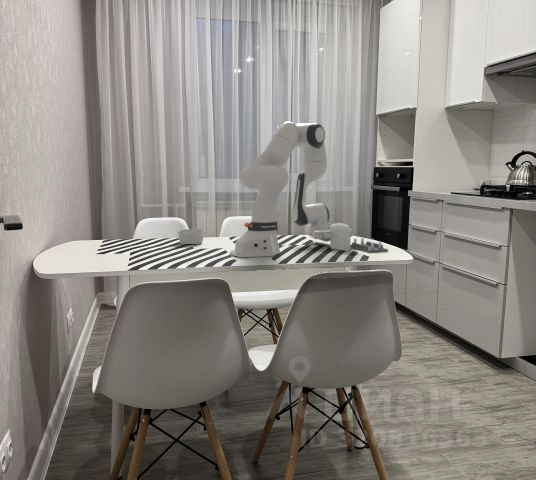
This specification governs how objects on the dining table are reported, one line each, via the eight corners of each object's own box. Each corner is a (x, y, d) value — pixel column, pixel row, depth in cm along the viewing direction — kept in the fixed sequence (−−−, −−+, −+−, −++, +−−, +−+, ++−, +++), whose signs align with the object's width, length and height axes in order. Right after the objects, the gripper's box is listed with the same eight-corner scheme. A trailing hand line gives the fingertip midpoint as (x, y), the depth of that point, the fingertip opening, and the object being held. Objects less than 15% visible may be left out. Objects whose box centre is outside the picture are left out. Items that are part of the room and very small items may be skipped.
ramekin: (173, 245, 237) (172, 231, 236) (185, 241, 250) (184, 228, 249) (197, 246, 234) (197, 232, 233) (208, 242, 246) (207, 229, 245)
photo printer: (328, 248, 221) (329, 222, 219) (335, 247, 224) (335, 222, 222) (345, 251, 213) (345, 224, 211) (351, 250, 216) (352, 223, 214)
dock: (368, 252, 209) (369, 244, 208) (347, 247, 225) (347, 238, 225) (387, 251, 213) (387, 242, 212) (365, 245, 229) (365, 237, 229)
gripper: (306, 227, 226) (320, 230, 213) (343, 224, 233) (358, 227, 221) (306, 240, 227) (320, 243, 214) (343, 237, 234) (358, 241, 222)
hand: (340, 235), depth 217 cm, fingers open, 8 cm apart
